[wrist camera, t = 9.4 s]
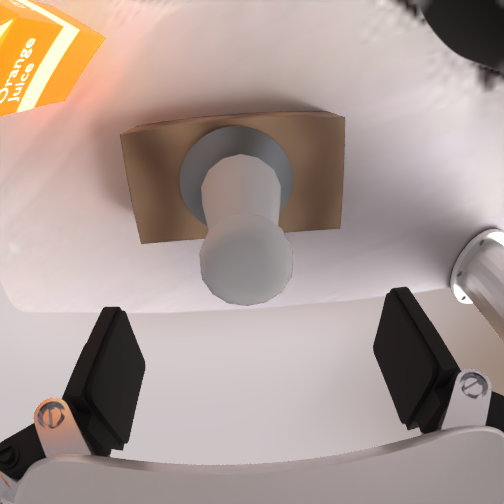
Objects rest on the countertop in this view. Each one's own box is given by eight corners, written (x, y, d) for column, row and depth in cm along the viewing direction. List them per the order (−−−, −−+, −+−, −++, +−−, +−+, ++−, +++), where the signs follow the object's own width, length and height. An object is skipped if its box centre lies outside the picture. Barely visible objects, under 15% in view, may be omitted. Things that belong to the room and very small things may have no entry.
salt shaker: (291, 178, 25) (341, 266, 14) (246, 229, 27) (258, 342, 16) (233, 133, 23) (234, 186, 12) (189, 190, 25) (156, 287, 14)
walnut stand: (327, 111, 27) (347, 118, 22) (325, 207, 32) (341, 231, 28) (137, 126, 27) (117, 135, 22) (152, 220, 32) (139, 246, 27)
